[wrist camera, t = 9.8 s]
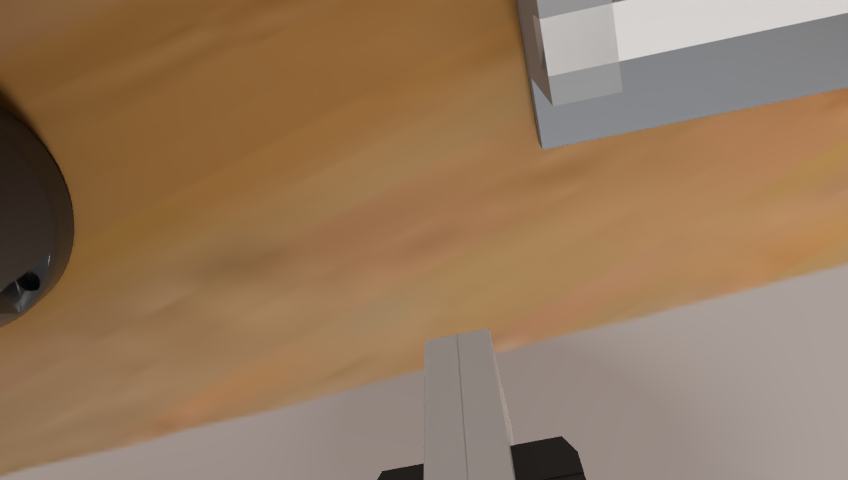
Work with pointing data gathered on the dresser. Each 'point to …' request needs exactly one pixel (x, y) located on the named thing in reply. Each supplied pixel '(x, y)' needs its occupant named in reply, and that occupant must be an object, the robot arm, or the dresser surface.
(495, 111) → the dresser surface
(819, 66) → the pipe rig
